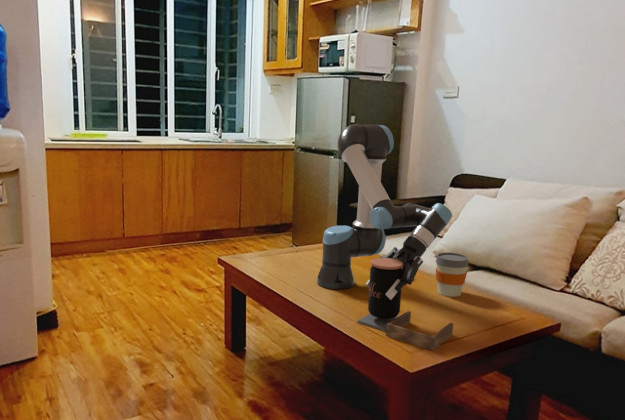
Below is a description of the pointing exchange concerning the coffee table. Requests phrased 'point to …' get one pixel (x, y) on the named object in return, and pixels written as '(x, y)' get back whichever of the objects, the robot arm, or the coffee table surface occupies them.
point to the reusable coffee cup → (451, 273)
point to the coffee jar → (384, 287)
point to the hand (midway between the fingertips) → (378, 291)
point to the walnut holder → (416, 333)
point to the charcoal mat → (375, 322)
